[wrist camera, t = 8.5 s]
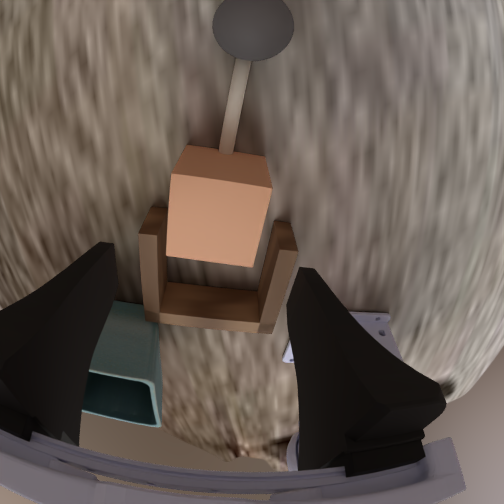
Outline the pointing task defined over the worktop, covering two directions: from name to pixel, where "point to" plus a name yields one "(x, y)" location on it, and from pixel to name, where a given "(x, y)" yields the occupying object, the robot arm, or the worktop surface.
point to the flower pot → (126, 369)
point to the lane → (213, 298)
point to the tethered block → (228, 151)
